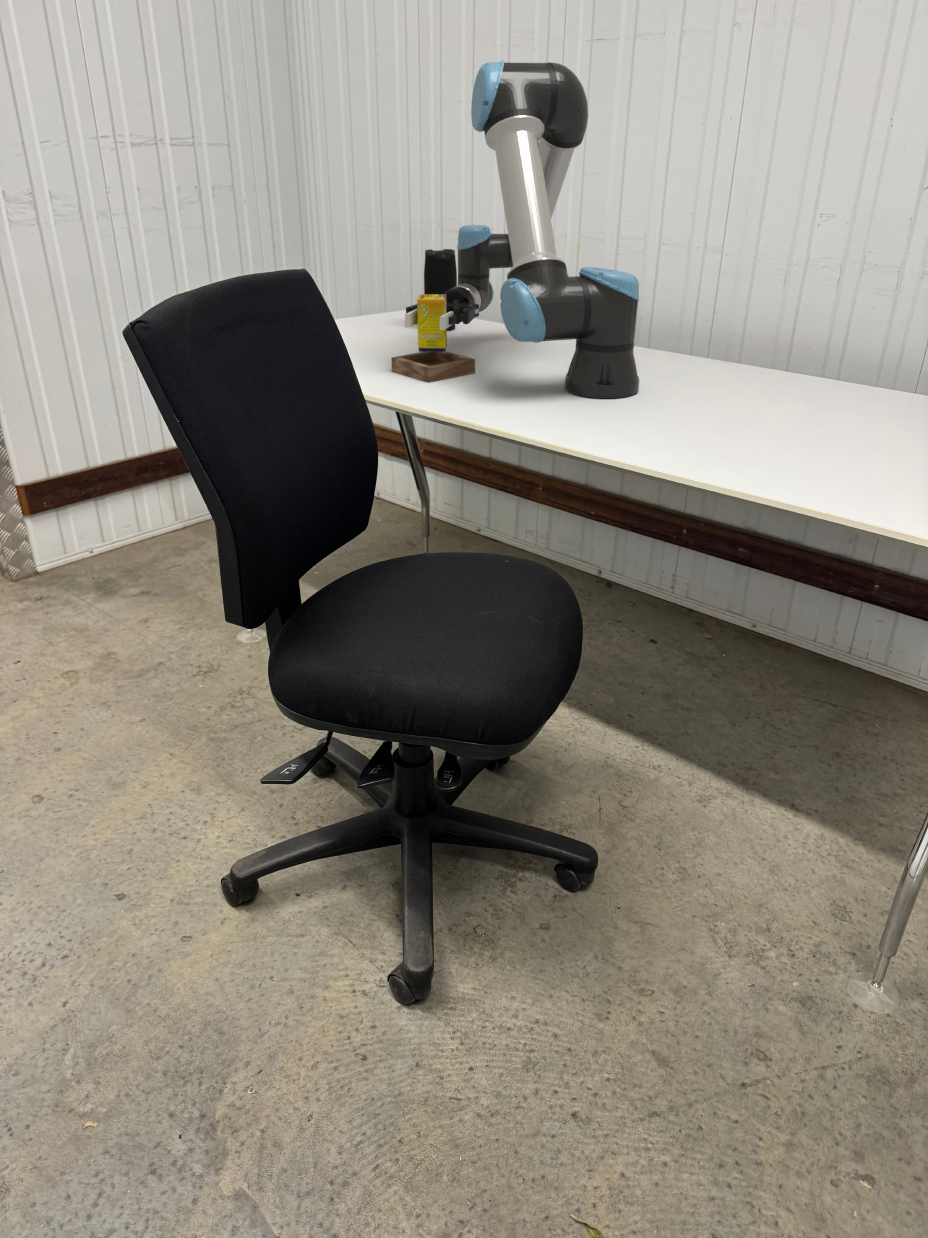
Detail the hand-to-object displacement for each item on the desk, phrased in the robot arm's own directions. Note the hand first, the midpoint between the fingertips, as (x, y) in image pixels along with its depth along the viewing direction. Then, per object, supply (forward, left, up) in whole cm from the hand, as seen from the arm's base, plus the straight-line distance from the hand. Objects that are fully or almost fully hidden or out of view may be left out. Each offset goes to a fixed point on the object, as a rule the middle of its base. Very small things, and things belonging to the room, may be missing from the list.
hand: (423, 322), depth 187 cm
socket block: (+2, -4, -11) cm, 12 cm away
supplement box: (+3, -4, -7) cm, 8 cm away
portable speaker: (+38, -36, -12) cm, 54 cm away
